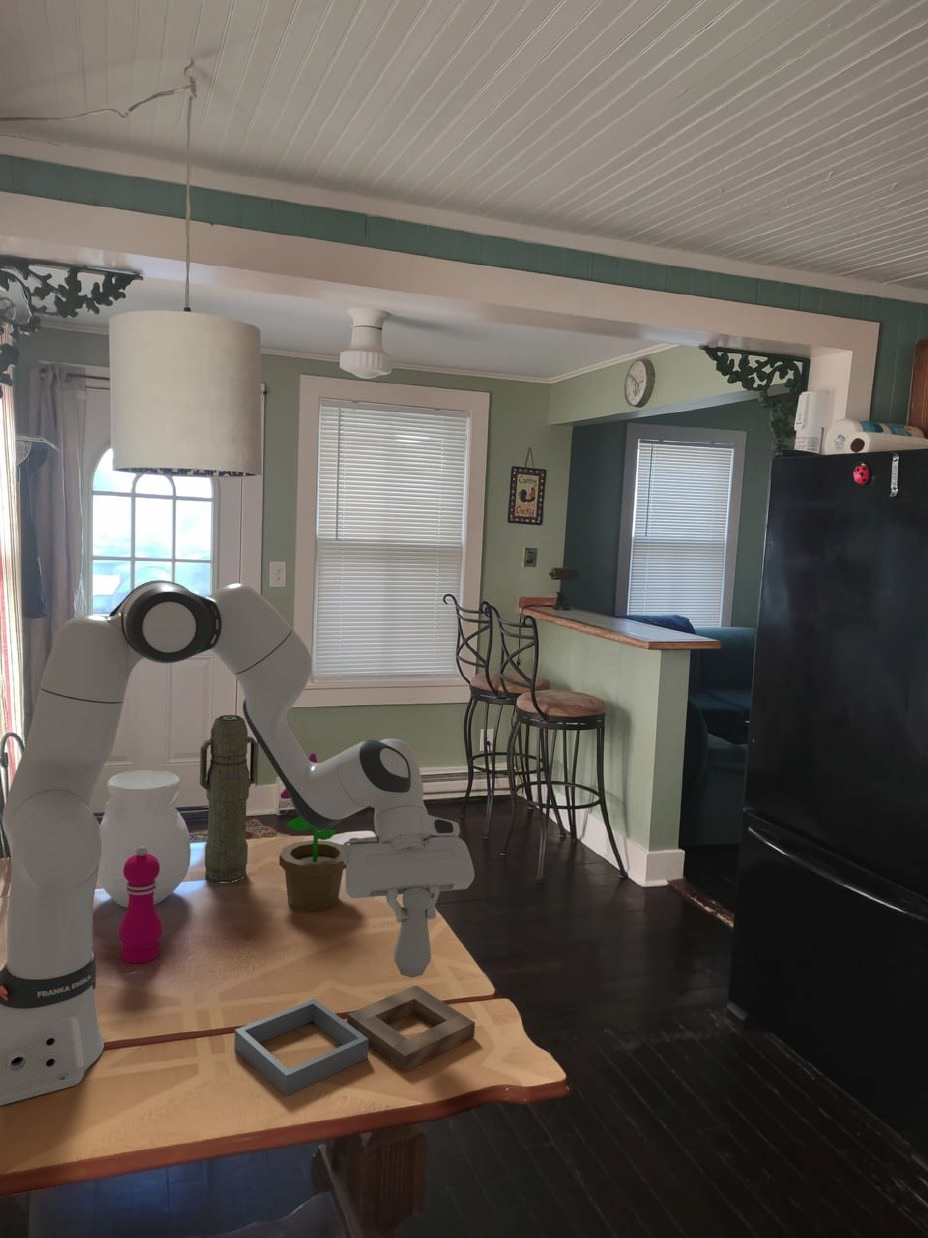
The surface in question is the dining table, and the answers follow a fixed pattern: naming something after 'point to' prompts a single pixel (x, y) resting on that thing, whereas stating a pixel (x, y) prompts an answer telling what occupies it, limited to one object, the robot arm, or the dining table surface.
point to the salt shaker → (414, 935)
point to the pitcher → (143, 831)
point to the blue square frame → (312, 1069)
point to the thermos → (227, 797)
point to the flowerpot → (312, 867)
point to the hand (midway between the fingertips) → (416, 919)
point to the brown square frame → (421, 1047)
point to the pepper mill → (140, 909)
